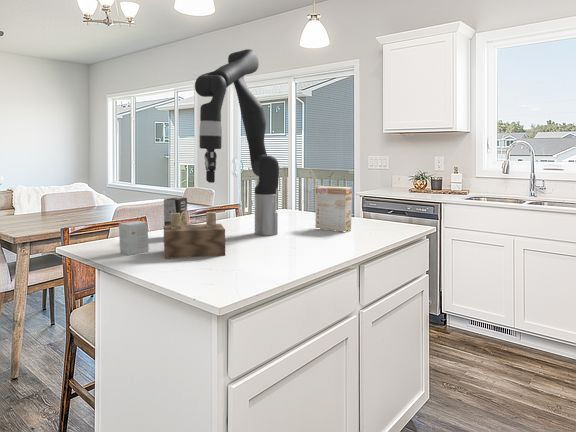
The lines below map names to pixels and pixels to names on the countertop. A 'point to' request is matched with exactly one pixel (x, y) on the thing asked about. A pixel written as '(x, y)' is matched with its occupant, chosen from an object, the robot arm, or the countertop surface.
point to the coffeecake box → (333, 208)
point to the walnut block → (194, 241)
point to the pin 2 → (210, 219)
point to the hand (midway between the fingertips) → (210, 181)
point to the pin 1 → (175, 220)
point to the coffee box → (175, 210)
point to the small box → (133, 237)
